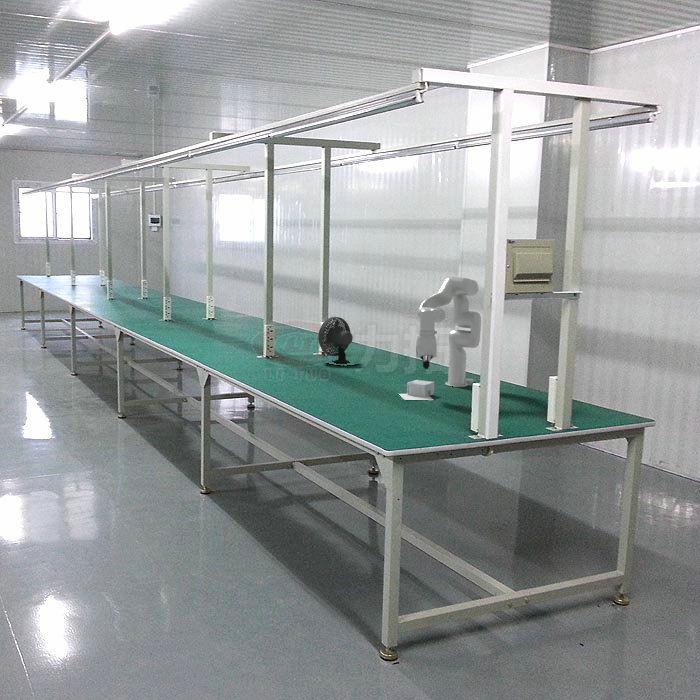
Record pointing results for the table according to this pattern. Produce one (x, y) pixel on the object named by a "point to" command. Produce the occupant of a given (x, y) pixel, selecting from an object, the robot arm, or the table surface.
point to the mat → (414, 397)
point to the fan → (335, 338)
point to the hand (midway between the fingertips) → (425, 368)
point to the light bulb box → (420, 388)
